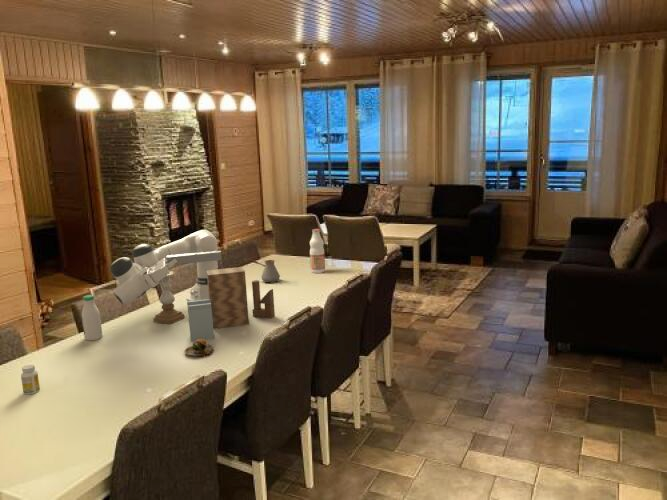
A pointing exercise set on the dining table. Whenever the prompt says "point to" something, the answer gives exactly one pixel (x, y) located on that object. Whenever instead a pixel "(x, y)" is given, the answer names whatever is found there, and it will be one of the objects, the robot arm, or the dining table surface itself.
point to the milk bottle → (91, 319)
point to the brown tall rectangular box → (228, 297)
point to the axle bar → (195, 257)
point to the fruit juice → (317, 253)
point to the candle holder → (167, 304)
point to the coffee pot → (268, 271)
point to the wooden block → (262, 302)
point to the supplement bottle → (30, 380)
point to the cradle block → (200, 319)
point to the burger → (199, 349)
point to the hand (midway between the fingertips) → (176, 258)
